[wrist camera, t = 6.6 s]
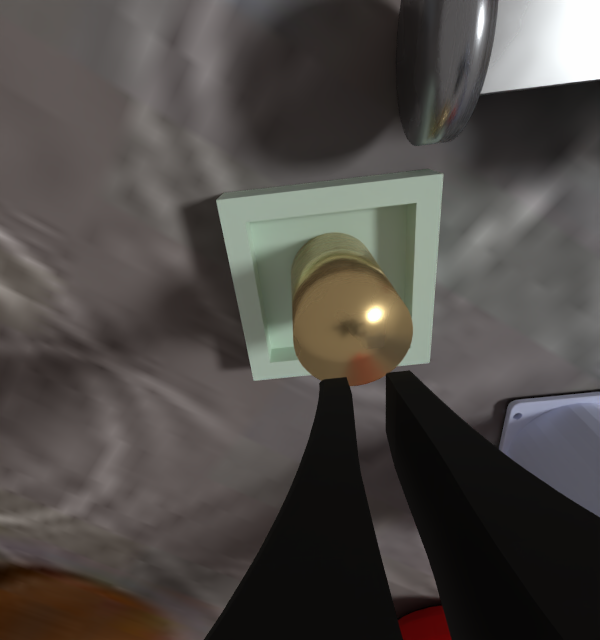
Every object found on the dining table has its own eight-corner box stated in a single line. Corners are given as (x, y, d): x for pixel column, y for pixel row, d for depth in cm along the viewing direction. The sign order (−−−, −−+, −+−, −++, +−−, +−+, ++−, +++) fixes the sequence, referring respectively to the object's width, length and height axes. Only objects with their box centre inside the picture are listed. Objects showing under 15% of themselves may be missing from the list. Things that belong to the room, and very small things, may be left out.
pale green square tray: (418, 344, 20) (429, 362, 18) (256, 360, 20) (253, 380, 19) (428, 168, 16) (443, 173, 14) (223, 192, 16) (216, 200, 14)
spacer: (372, 308, 18) (407, 382, 13) (293, 313, 18) (296, 389, 13) (376, 229, 16) (418, 278, 11) (288, 235, 16) (289, 286, 11)
